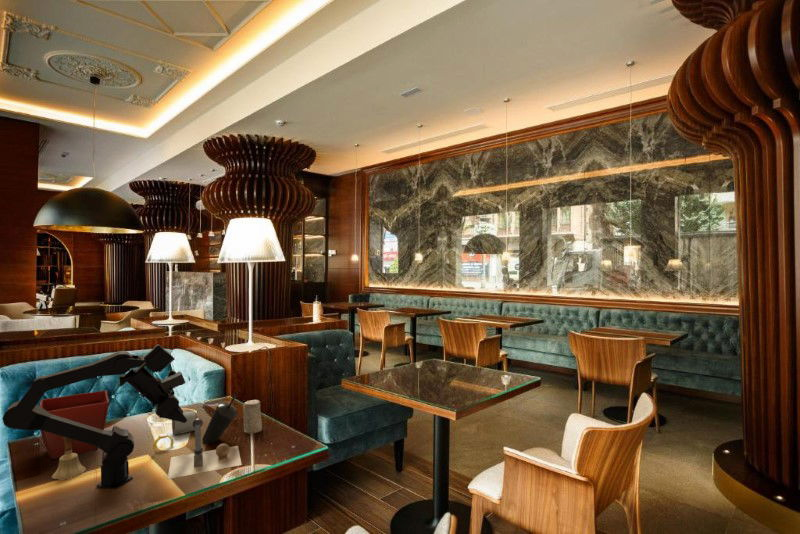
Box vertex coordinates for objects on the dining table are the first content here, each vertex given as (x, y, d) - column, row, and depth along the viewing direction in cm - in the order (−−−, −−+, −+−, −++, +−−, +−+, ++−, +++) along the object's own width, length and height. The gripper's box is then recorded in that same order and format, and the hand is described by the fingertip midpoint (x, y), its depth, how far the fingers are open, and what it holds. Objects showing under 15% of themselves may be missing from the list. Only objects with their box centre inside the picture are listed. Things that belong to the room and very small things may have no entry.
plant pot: (107, 434, 165) (106, 389, 165) (110, 450, 150) (109, 401, 150) (42, 447, 154) (41, 399, 154) (37, 466, 139) (36, 413, 139)
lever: (192, 460, 134) (192, 421, 134) (193, 454, 137) (192, 417, 137) (203, 458, 135) (202, 419, 135) (203, 453, 139) (202, 416, 139)
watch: (170, 449, 151) (171, 431, 151) (174, 451, 149) (175, 433, 149) (151, 454, 146) (152, 435, 147) (155, 456, 145) (156, 437, 145)
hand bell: (58, 483, 128) (57, 428, 128) (46, 476, 132) (45, 423, 132) (91, 471, 135) (89, 419, 135) (78, 465, 139) (77, 415, 139)
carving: (256, 429, 167) (255, 397, 167) (265, 434, 162) (265, 401, 162) (240, 433, 163) (239, 401, 163) (249, 439, 158) (248, 405, 158)
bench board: (167, 484, 126) (167, 466, 126) (171, 462, 140) (170, 446, 140) (241, 469, 134) (241, 453, 134) (237, 450, 148) (237, 435, 148)
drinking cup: (209, 452, 149) (237, 404, 146) (193, 438, 150) (220, 391, 148) (224, 443, 156) (250, 397, 154) (208, 430, 158) (234, 385, 155)
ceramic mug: (198, 432, 165) (198, 411, 165) (174, 437, 161) (174, 416, 161) (193, 424, 174) (192, 405, 174) (170, 429, 169) (169, 409, 169)
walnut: (216, 461, 136) (215, 447, 136) (215, 456, 140) (215, 442, 140) (229, 459, 138) (229, 445, 138) (229, 454, 142) (228, 440, 142)
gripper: (172, 369, 127) (210, 404, 133) (166, 359, 143) (200, 390, 148) (138, 399, 122) (179, 434, 128) (136, 385, 138) (172, 416, 144)
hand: (184, 417), depth 137 cm, fingers open, 9 cm apart
